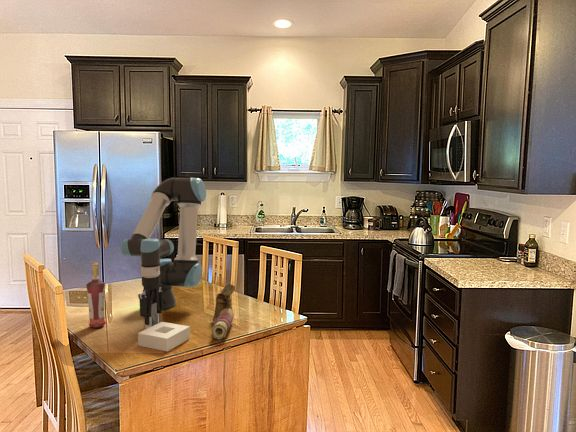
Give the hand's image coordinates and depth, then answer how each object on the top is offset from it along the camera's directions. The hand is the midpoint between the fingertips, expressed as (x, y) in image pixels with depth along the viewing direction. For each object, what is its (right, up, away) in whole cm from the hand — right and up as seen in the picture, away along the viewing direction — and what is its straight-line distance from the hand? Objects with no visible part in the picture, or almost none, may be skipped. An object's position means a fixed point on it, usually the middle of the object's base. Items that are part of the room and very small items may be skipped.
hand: (152, 329), depth 184 cm
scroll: (+30, -1, 0) cm, 30 cm away
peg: (0, 0, 0) cm, 0 cm away
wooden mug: (+29, +1, +14) cm, 32 cm away
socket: (+9, -2, -12) cm, 15 cm away
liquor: (-25, 0, +5) cm, 26 cm away
